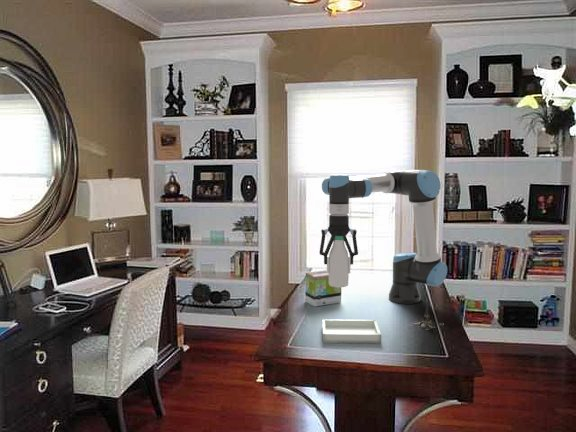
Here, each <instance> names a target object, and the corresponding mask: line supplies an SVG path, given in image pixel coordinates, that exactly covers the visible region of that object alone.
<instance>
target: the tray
mask: <svg viewBox="0 0 576 432" xmlns="http://www.w3.org/2000/svg"><path fill="white" fill-rule="evenodd" d="M321 323H322V325H321V326H322V342H323V344H326V343H327V344H382V333H381V331H380V327H379V325H378V322H377V320H376V319H326V318H325V319H323V318H322V322H321Z"/></svg>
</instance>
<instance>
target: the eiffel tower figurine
mask: <svg viewBox="0 0 576 432" xmlns="http://www.w3.org/2000/svg"><path fill="white" fill-rule="evenodd" d="M416 322H417V323H414V324H419V325H418V327H419V328H420V329H423V330H426V331H429V330H432V329H433V330H434V329H435V328H436V326H435V325H438V326H445V323H443V322H441V323H440V322H435V323H436V324H434V322H433V321H432V319H431V317H430V313H429V300H428V298H426V302H425V311H424V314H423V317H422V319H421V321H416ZM410 328H411V326H409V327H408V330H411V329H410Z"/></svg>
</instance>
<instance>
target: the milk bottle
mask: <svg viewBox="0 0 576 432" xmlns="http://www.w3.org/2000/svg"><path fill="white" fill-rule="evenodd" d="M348 253H349V251H348V249H347V246H346V244H345V241H344V239H343V236H335V239H334V241H333V243H332V246H331V248H330V250H329V253H328V255H329V285H330V286H332V287H341V288H346V287H348V286H349V274H350V273H348V256H349V254H348Z"/></svg>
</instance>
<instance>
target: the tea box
mask: <svg viewBox="0 0 576 432" xmlns="http://www.w3.org/2000/svg"><path fill="white" fill-rule="evenodd" d="M304 281H305V286H304V288H305V289H304V291H305V292H304V302H305V303H307V304H309V305H311V306H313V307H314V308H316V307H320V306H325V305H326V306H327V305H331V304H332V305H333V304H341V303H342V287H332V286H330V285H329V273H327V269H326V270H318V271H309V272H305V279H304Z"/></svg>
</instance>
